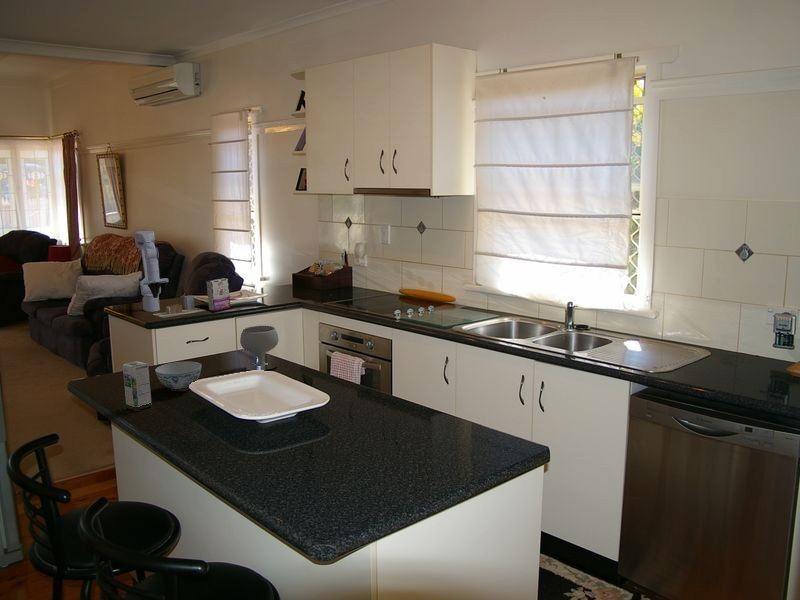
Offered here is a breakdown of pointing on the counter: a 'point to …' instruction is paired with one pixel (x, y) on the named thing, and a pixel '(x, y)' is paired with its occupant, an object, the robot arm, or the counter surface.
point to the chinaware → (178, 374)
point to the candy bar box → (218, 294)
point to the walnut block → (174, 309)
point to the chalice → (259, 341)
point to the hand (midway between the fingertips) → (155, 297)
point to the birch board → (178, 313)
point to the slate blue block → (189, 302)
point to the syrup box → (136, 384)
